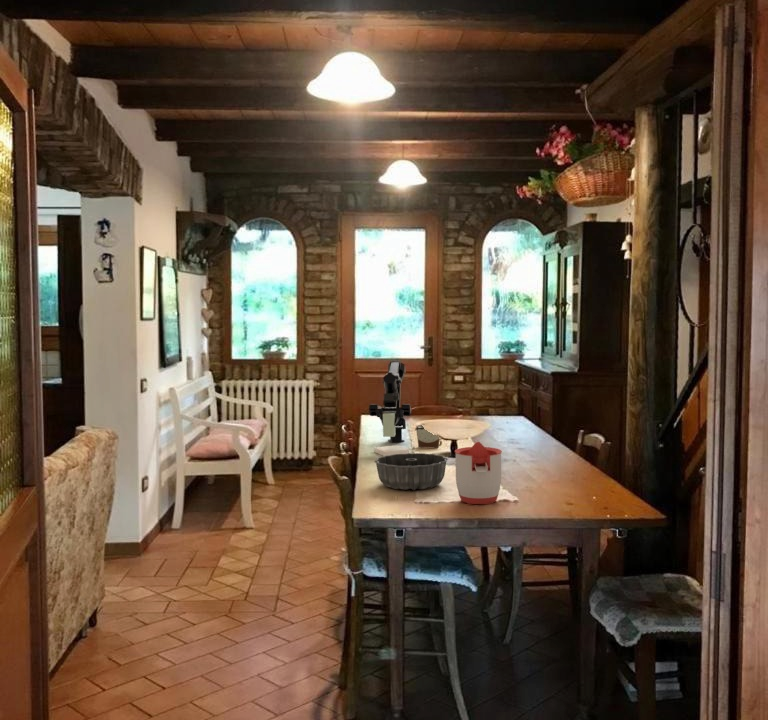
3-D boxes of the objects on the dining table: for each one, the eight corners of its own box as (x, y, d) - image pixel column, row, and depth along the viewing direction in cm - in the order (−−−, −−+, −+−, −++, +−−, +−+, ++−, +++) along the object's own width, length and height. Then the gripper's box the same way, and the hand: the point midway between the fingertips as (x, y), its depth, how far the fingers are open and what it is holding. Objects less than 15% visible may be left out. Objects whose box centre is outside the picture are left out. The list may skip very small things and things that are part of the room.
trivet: (374, 451, 354) (374, 447, 354) (398, 449, 359) (398, 445, 359) (384, 456, 343) (384, 451, 343) (409, 453, 348) (409, 449, 348)
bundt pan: (364, 482, 292) (363, 456, 292) (426, 475, 303) (426, 449, 302) (394, 497, 268) (393, 468, 268) (461, 489, 279) (460, 461, 278)
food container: (442, 445, 368) (441, 424, 368) (441, 447, 362) (441, 426, 362) (416, 445, 370) (415, 424, 369) (415, 447, 363) (414, 426, 363)
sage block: (384, 434, 353) (384, 412, 352) (395, 434, 352) (395, 412, 352) (383, 436, 348) (382, 414, 347) (394, 436, 347) (394, 414, 347)
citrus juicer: (458, 508, 251) (457, 447, 250) (453, 495, 269) (452, 438, 267) (506, 507, 251) (506, 446, 250) (498, 495, 269) (498, 437, 267)
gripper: (368, 386, 354) (366, 414, 343) (410, 386, 351) (408, 414, 341) (371, 401, 362) (368, 429, 352) (411, 401, 360) (410, 429, 350)
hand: (388, 425), depth 348 cm, fingers closed on sage block, 5 cm apart
